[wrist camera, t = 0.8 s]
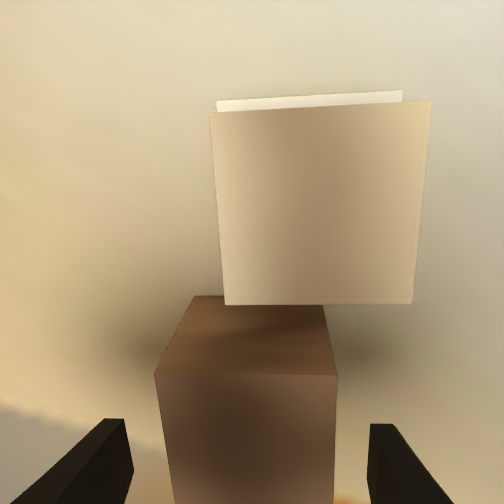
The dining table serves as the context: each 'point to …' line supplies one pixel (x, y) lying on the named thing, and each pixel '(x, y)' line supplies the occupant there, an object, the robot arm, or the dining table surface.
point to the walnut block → (249, 404)
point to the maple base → (320, 202)
